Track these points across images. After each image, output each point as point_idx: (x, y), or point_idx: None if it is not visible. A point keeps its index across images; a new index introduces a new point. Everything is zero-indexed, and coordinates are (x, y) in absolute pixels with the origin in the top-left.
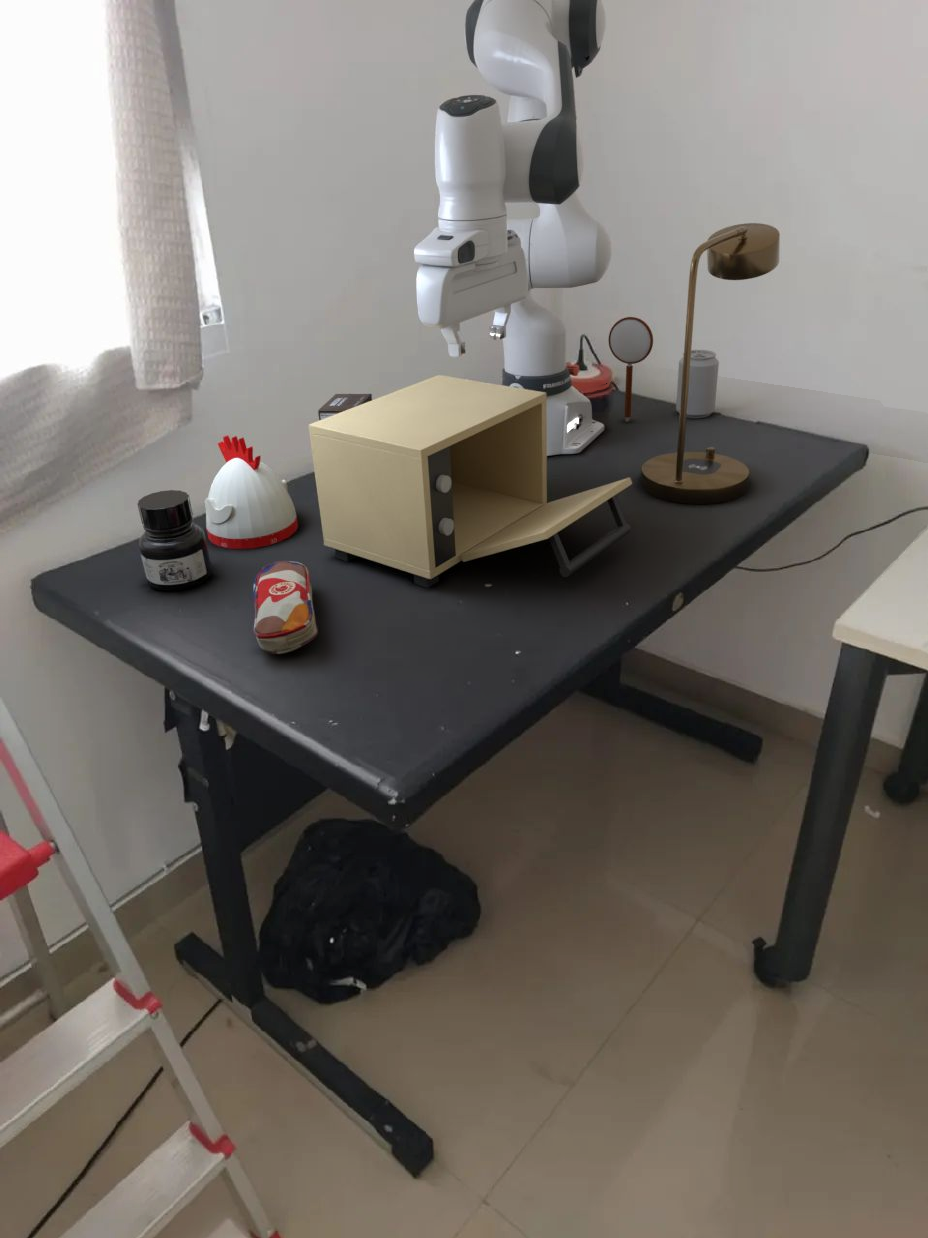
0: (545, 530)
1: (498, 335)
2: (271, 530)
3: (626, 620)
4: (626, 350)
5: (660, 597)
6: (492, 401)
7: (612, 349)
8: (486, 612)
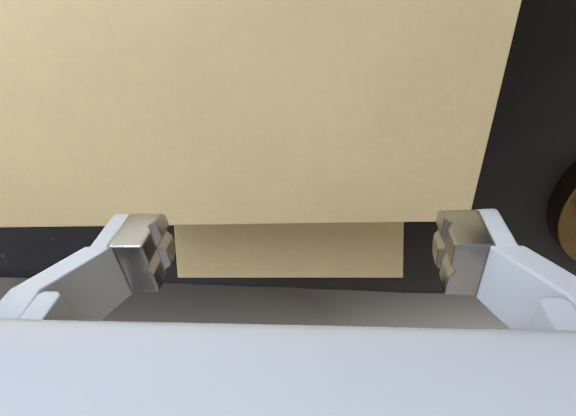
0: (182, 275)
1: (437, 259)
2: None
3: (231, 281)
4: None
5: (287, 285)
6: (327, 152)
7: None
8: None
